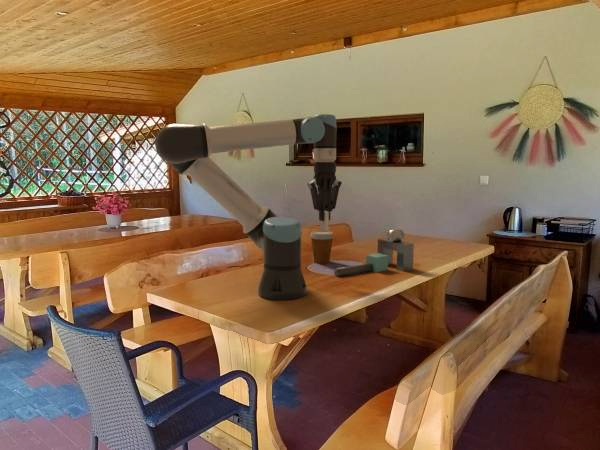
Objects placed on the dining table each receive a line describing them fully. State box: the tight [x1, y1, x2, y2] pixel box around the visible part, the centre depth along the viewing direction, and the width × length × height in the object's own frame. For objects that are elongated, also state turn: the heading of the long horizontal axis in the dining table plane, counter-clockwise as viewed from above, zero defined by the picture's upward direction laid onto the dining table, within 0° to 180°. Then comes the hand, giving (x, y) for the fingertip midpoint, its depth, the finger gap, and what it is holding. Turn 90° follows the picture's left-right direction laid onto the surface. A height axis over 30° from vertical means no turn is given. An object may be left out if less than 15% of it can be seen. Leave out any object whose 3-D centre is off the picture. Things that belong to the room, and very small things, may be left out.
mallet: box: [333, 253, 389, 277], centre depth 181 cm, size 22×6×6 cm, turn 122°
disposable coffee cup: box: [309, 230, 335, 264], centre depth 197 cm, size 10×10×12 cm
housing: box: [376, 228, 415, 272], centre depth 189 cm, size 5×14×14 cm, turn 32°
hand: (324, 229), depth 170 cm, fingers closed
